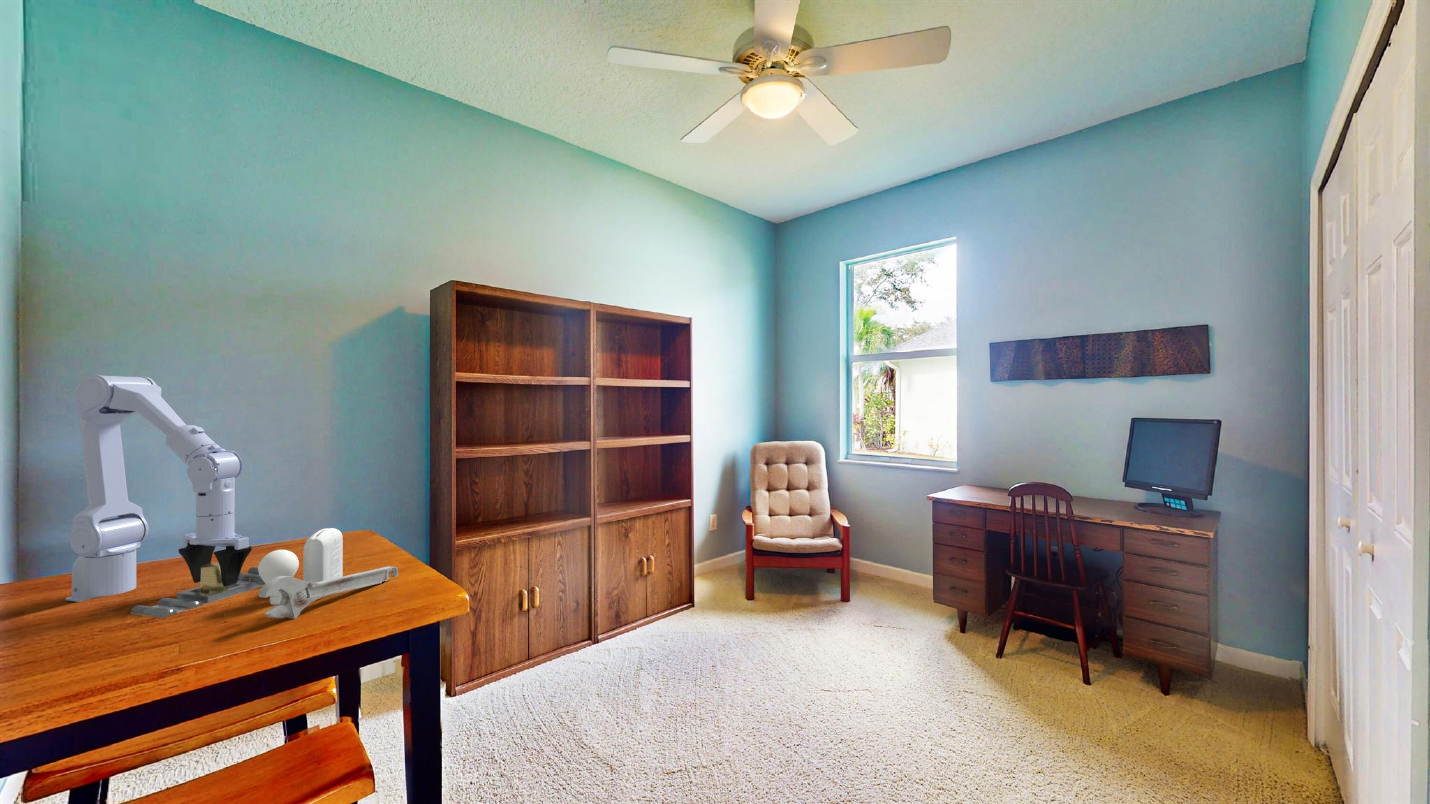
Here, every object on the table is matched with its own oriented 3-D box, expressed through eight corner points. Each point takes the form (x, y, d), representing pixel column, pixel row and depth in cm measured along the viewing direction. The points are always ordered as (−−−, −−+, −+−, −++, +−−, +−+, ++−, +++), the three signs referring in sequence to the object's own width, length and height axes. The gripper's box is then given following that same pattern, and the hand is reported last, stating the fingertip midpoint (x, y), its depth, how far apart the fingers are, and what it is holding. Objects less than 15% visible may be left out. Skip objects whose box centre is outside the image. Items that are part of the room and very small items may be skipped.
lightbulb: (255, 608, 107) (255, 550, 107) (294, 600, 111) (295, 544, 111) (261, 617, 102) (261, 556, 102) (302, 608, 107) (302, 550, 107)
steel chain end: (128, 619, 101) (128, 607, 101) (221, 591, 116) (221, 581, 116) (162, 624, 99) (162, 612, 99) (253, 595, 114) (253, 584, 114)
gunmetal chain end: (175, 605, 108) (175, 588, 108) (258, 580, 123) (257, 565, 123) (208, 609, 106) (208, 592, 106) (288, 584, 121) (288, 568, 121)
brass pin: (195, 603, 109) (195, 567, 109) (219, 596, 113) (219, 561, 113) (209, 605, 108) (209, 568, 108) (232, 598, 112) (233, 563, 112)
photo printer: (323, 581, 122) (323, 524, 122) (345, 580, 123) (345, 523, 123) (299, 597, 112) (299, 535, 112) (323, 596, 113) (324, 534, 113)
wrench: (397, 591, 125) (262, 629, 96) (390, 591, 125) (253, 628, 96) (400, 554, 126) (267, 580, 97) (393, 554, 126) (259, 579, 97)
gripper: (164, 515, 109) (164, 586, 109) (220, 520, 105) (220, 593, 105) (205, 508, 115) (205, 575, 115) (260, 512, 112) (259, 581, 112)
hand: (215, 582), depth 111 cm, fingers open, 7 cm apart
